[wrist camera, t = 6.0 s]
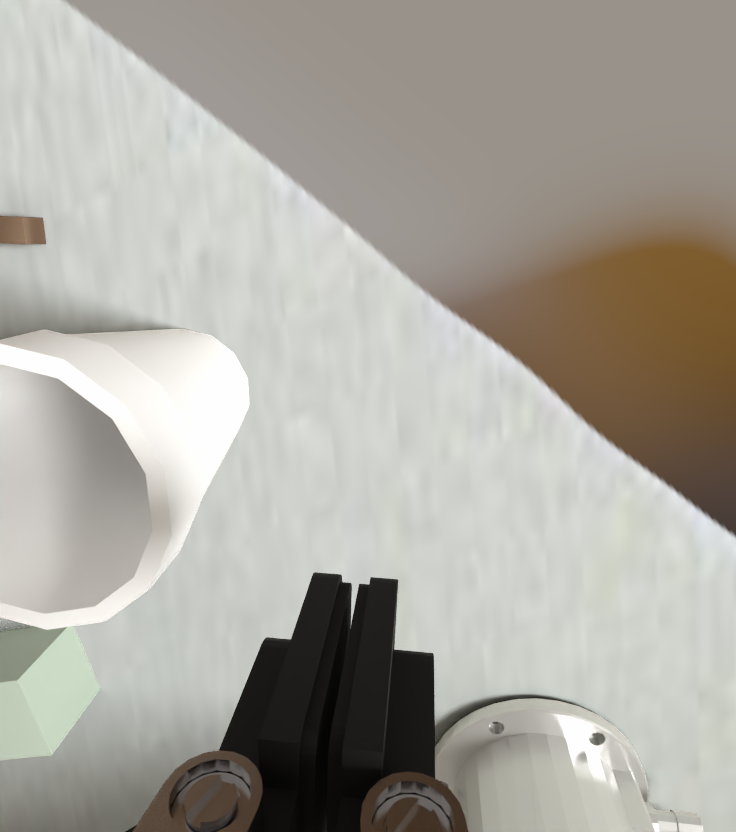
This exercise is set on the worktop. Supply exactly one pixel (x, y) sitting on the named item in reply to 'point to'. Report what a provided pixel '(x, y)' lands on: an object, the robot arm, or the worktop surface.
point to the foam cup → (105, 463)
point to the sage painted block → (41, 689)
